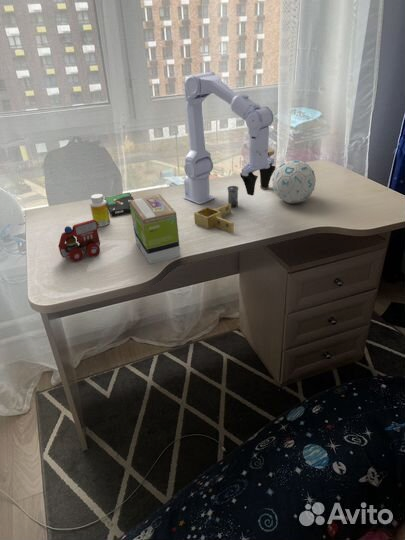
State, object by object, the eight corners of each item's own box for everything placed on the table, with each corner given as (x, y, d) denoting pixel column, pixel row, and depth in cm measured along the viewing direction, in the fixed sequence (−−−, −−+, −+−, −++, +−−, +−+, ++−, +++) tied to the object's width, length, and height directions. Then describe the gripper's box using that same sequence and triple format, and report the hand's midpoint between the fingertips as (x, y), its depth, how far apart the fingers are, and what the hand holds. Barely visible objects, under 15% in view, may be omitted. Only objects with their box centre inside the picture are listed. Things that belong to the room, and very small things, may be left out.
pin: (225, 206, 150) (225, 188, 146) (232, 203, 152) (232, 185, 148) (233, 209, 147) (233, 190, 144) (240, 205, 149) (240, 187, 146)
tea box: (134, 243, 129) (128, 199, 121) (165, 236, 132) (160, 192, 124) (148, 265, 117) (142, 218, 109) (181, 257, 120) (177, 210, 112)
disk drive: (140, 212, 150) (130, 198, 162) (139, 205, 148) (129, 191, 160) (112, 218, 147) (104, 203, 158) (111, 211, 145) (102, 196, 157)
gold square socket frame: (194, 223, 139) (194, 212, 136) (223, 210, 147) (223, 199, 145) (226, 236, 130) (225, 225, 128) (255, 221, 138) (255, 210, 136)
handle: (274, 189, 162) (276, 151, 154) (259, 191, 160) (260, 153, 152) (269, 184, 166) (271, 147, 157) (254, 187, 164) (255, 149, 156)
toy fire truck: (59, 256, 124) (51, 225, 119) (98, 244, 129) (92, 214, 124) (65, 266, 119) (56, 234, 114) (106, 253, 124) (99, 222, 119)
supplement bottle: (112, 224, 141) (107, 197, 135) (96, 228, 139) (90, 200, 133) (108, 218, 145) (102, 191, 140) (92, 222, 143) (86, 194, 138)
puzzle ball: (310, 211, 142) (315, 169, 134) (267, 207, 147) (269, 166, 139) (315, 195, 154) (319, 155, 146) (275, 192, 159) (277, 153, 151)
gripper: (254, 157, 120) (253, 200, 128) (282, 146, 129) (280, 187, 136) (236, 153, 124) (236, 195, 132) (264, 142, 133) (263, 182, 140)
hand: (257, 191), depth 134 cm, fingers open, 7 cm apart
